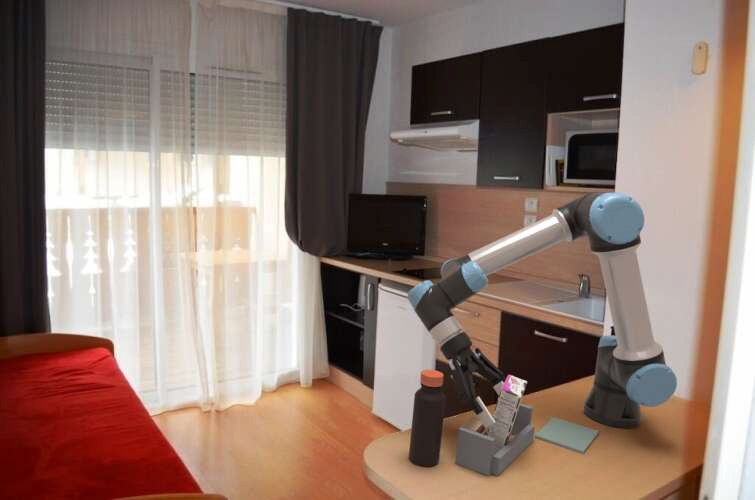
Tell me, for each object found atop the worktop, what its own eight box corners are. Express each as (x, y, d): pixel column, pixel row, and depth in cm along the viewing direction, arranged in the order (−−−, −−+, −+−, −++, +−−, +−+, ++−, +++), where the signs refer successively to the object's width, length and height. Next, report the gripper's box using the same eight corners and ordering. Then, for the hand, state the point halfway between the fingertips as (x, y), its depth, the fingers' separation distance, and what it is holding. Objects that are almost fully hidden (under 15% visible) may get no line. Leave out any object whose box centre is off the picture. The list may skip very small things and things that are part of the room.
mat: (598, 433, 147) (599, 431, 147) (583, 453, 134) (583, 451, 134) (553, 419, 153) (553, 417, 153) (534, 437, 141) (534, 435, 141)
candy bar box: (488, 433, 139) (508, 373, 136) (508, 441, 138) (528, 381, 134) (479, 452, 129) (500, 388, 126) (500, 461, 127) (522, 396, 124)
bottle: (445, 461, 125) (454, 375, 123) (425, 470, 121) (434, 381, 118) (422, 449, 130) (430, 366, 127) (402, 457, 125) (410, 371, 123)
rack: (535, 439, 140) (538, 408, 139) (494, 478, 120) (499, 443, 118) (499, 427, 145) (502, 397, 144) (455, 463, 125) (458, 429, 124)
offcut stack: (485, 440, 138) (487, 421, 137) (473, 453, 131) (475, 432, 130) (469, 435, 140) (471, 416, 139) (457, 447, 133) (459, 427, 132)
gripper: (463, 337, 150) (510, 407, 143) (414, 358, 129) (467, 441, 123) (483, 322, 146) (533, 393, 140) (437, 341, 126) (492, 425, 119)
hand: (502, 416), depth 131 cm, fingers open, 13 cm apart
